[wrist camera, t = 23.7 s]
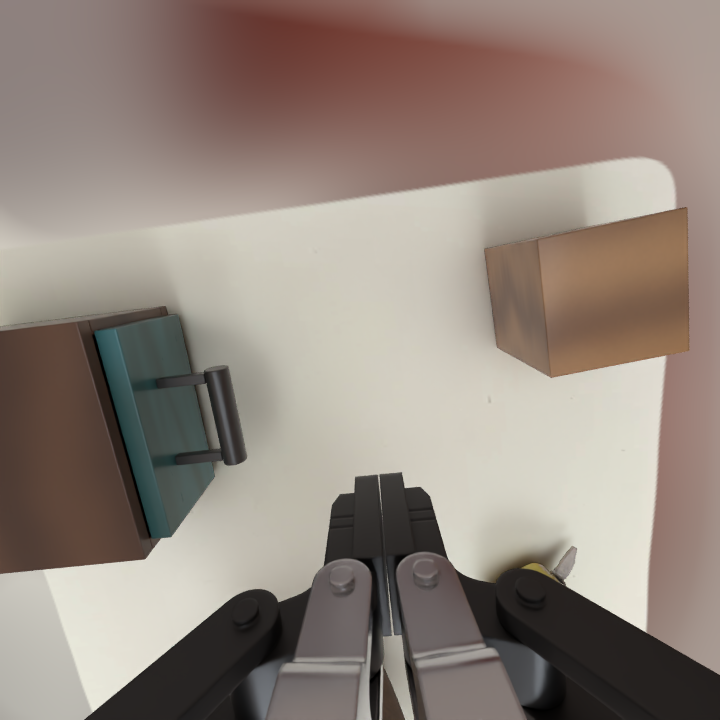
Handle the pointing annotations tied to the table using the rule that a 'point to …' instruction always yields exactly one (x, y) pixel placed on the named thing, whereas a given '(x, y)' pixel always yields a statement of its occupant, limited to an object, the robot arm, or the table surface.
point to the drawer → (166, 417)
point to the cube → (593, 294)
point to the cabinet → (64, 450)
